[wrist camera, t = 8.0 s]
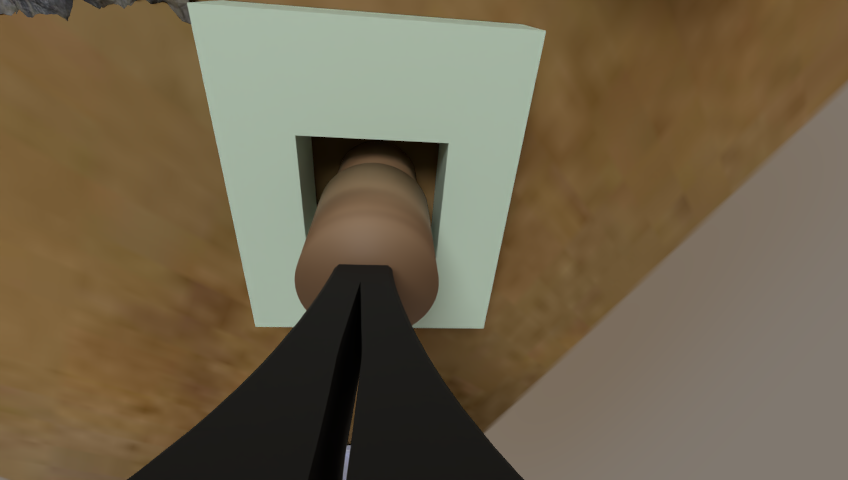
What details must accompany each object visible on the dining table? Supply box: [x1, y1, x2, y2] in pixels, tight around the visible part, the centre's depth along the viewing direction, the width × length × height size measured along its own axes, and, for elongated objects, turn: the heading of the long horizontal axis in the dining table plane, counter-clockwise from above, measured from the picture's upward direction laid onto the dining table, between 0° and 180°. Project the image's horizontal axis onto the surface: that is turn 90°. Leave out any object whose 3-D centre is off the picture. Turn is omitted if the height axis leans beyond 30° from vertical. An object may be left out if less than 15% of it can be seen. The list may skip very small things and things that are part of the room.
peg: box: [294, 141, 439, 325], centre depth 13 cm, size 4×4×7 cm
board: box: [187, 0, 546, 328], centre depth 15 cm, size 12×10×2 cm
